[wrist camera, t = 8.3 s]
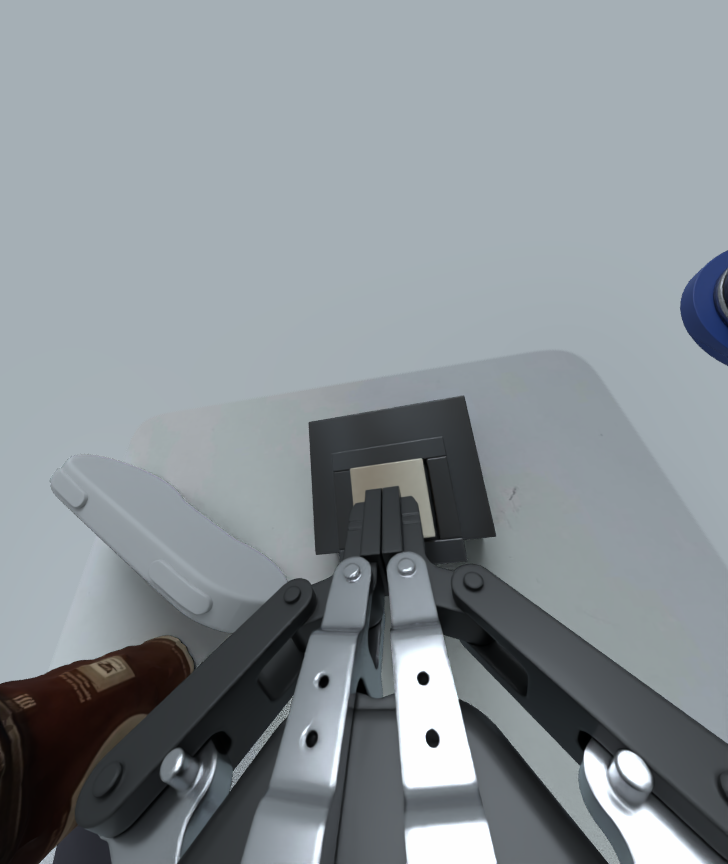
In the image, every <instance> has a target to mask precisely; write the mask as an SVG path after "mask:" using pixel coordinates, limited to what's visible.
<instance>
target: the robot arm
mask: <svg viewBox="0 0 728 864" xmlns="http://www.w3.org/2000/svg"><path fill="white" fill-rule="evenodd" d="M713 301H714V305H715V308H716V311H717V313H718V315H719V316H720V318H721V320H722V321H723V322H724V323H725V325H726V326H727V327H728V268H727V269H726V270H725V271H724V272H723V273H722V274H721V275H720V276H719V278H718V280H717V281H716V284H715V286H714V291H713ZM384 596H389V600H390V611H391V622H392V628H391V629H390V639H391V651H392V663H393V675H394V686H395V693H393V694H391V695H388V696H385V697H383V688H382V678H381V672H382V657H383V643H384V629H385V612H384ZM443 635H446V636H450V637H453V638H456V639H459V640H460V642H461V643H462V645H463V646H464V647H465V648H466V649H467V650H468V651H469V652H470V653H471V654H472V655H473V656H474V657H475V658H476V659H477V660H478V661H479V662H480V663H481V664H482V665H483V666H484V667H485V669H486V670H487V671H488V672H489V673H490V674H491V675H492V676H493V677H494V678H495V679H496V680H497V681H498V682H499V683H500V684H501V685H502V686H503V687H504V688H505V689H506V690H507V691H508V692H509V693H510V694H511V695H512V696H513V697H514V698H515V699H516V700H517V701H518V702H519V703H520V704H521V705H522V707H523V708H524V709H525V710H526V711H527V712H528V713H529V714H530V715H531V716H532V717H533V718H534V719H535V720H536V721H537V722H538V723H539V724H540V725H541V726H542V727H543V728H544V729H545V730H546V731H547V732H548V733H549V734H550V735H551V736H552V737H553V738H554V739H555V740H556V741H557V742H558V743H559V745H560V746H561V747H562V748H563V749H564V750H565V751H566V752H567V753H568V754H569V755H570V756H571V757H572V758H573V759H574V760H575V761H576V762H577V763H578V764H579V765H580V768H579V774H578V781H579V788H580V792H581V795H582V798H583V801H584V803H585V805H586V807H587V809H588V811H589V813H590V815H591V816H592V818H593V819H594V821H595V822H596V824H597V825H598V826H599V828H600V829H601V830H602V832H603V833H604V834H605V836H606V837H607V839H608V840H609V842H610V843H611V845H612V847H613V849H614V851H615V853H616V855H617V857H618V859H619V862H620V864H728V744H727V743H726V742H724V741H723V740H722V739H720V738H719V737H717V736H716V735H715V734H713V733H712V732H711V731H709V730H708V729H706V728H705V727H704V726H702V725H701V724H700V723H698V722H697V721H695V720H694V719H693V718H691V717H690V716H688V715H687V714H686V713H684V712H683V711H682V710H680V709H679V708H677V707H676V706H675V705H673V704H672V703H671V702H669V701H668V700H666V699H665V698H664V697H662V696H661V695H660V694H658V693H657V692H655V691H654V690H653V689H651V688H650V687H649V686H647V685H646V684H644V683H643V682H642V681H640V680H639V679H637V678H636V677H635V676H633V675H632V674H631V673H629V672H628V671H626V670H625V669H624V668H622V667H621V666H620V665H618V664H617V663H615V662H614V661H613V660H611V659H610V658H609V657H607V656H606V655H604V654H603V653H602V652H600V651H599V650H598V649H596V648H595V647H593V646H592V645H591V644H589V643H588V642H586V641H585V640H584V639H582V638H581V637H580V636H578V635H577V634H575V633H574V632H573V631H571V630H570V629H569V628H567V627H566V626H564V625H563V624H562V623H560V622H559V621H558V620H556V619H555V618H553V617H552V616H551V615H549V614H548V613H547V612H545V611H544V610H542V609H541V608H540V607H538V606H537V605H535V604H534V603H533V602H531V601H530V600H529V599H527V598H526V597H524V596H523V595H522V594H520V593H519V592H518V591H516V590H515V589H513V588H512V587H511V586H509V585H508V584H507V583H505V582H504V581H502V580H501V579H500V578H498V577H497V576H496V575H494V574H493V573H491V572H490V571H489V570H487V569H486V568H484V567H482V566H479V565H475V564H465V565H462V566H460V567H458V568H457V569H456V570H455V571H452V570H447V569H443V568H440V567H437V566H436V565H434V564H433V563H432V562H430V560H429V559H428V558H427V556H426V550H425V543H424V536H423V529H422V524H421V518H420V512H419V506H418V503H417V501H416V500H415V499H414V498H413V496H406V497H401V493H400V488H399V486H392V487H385V488H383V490H382V488H378V489H370V490H366V491H365V501H364V502H359V503H355V505H354V506H353V508H352V509H351V511H350V515H349V523H348V531H347V536H346V543H345V550H344V557H343V561H342V562H341V563H340V564H339V565H338V566H337V567H336V569H335V571H334V574H333V575H332V576H331V577H329V578H327V579H325V580H323V581H320V582H318V583H315V584H313V585H311V584H310V582H309V581H307V580H306V579H302V578H297V579H293V580H291V581H289V582H287V583H285V584H284V585H283V586H282V587H281V588H280V589H279V590H278V591H277V592H276V593H275V594H274V595H272V596H271V597H270V598H269V599H268V600H267V601H266V602H265V603H264V604H263V605H262V606H261V607H260V608H259V609H258V610H257V611H256V612H255V613H254V614H253V615H252V616H251V617H249V618H248V619H247V620H246V621H245V622H244V623H243V624H242V625H241V626H240V627H239V628H238V629H237V630H236V631H235V632H234V633H233V634H232V635H231V636H230V637H229V638H228V639H226V640H225V641H224V642H223V643H222V644H221V645H220V646H219V647H218V648H217V649H216V650H215V651H214V652H213V653H212V654H211V655H210V656H209V657H208V658H207V659H206V660H205V661H203V662H202V663H201V664H200V665H199V666H198V667H197V668H196V669H195V670H194V671H193V672H192V673H191V674H190V675H189V676H188V677H187V678H186V679H185V680H184V681H183V682H182V683H180V684H179V685H178V686H177V687H176V688H175V689H174V690H173V691H172V692H171V693H170V694H169V695H168V696H167V697H166V698H165V699H164V700H163V701H162V702H161V703H160V704H159V705H157V706H156V707H155V708H154V709H153V710H152V711H151V712H150V713H149V714H148V715H147V716H146V717H145V718H144V719H143V720H142V721H141V722H140V723H139V724H138V725H137V726H136V727H135V728H133V729H132V730H131V731H130V732H129V733H128V734H127V735H126V736H125V737H124V738H123V739H122V740H121V741H120V742H119V743H118V744H117V745H116V746H115V747H114V748H113V749H112V750H110V751H109V752H108V753H107V754H106V755H105V756H104V757H103V758H102V759H101V760H100V762H99V763H98V764H97V765H96V766H95V768H94V769H93V770H92V772H91V773H90V775H89V776H88V778H87V780H86V781H85V783H84V785H83V787H82V789H81V791H80V794H79V796H78V799H77V802H76V807H75V820H76V823H77V824H78V826H80V827H82V828H84V829H86V830H89V831H91V832H93V833H96V834H98V835H99V837H100V838H101V839H103V840H105V841H107V842H108V844H109V849H110V855H111V862H112V864H609V863H608V862H607V861H606V860H605V859H604V857H603V856H602V855H601V854H600V852H599V851H598V850H597V849H596V847H595V846H594V845H593V844H592V843H591V841H590V840H589V839H588V838H587V836H586V835H585V834H584V833H583V832H582V830H581V829H580V828H579V827H578V825H577V824H576V823H575V822H574V820H573V819H572V818H571V817H570V816H569V814H568V813H567V812H566V811H565V809H564V808H563V807H562V806H561V804H560V803H559V802H558V801H557V800H556V798H555V797H554V796H553V795H552V793H551V792H550V791H549V790H548V789H547V787H546V786H545V785H544V784H543V782H542V781H541V780H540V779H539V777H538V776H537V775H536V774H535V773H534V771H533V770H532V769H531V768H530V766H529V765H528V764H527V763H526V761H525V760H524V759H523V758H522V757H521V755H520V754H519V753H518V752H517V750H516V749H515V748H514V747H513V746H512V744H511V743H510V742H509V741H508V739H507V738H506V737H505V736H504V734H503V733H502V732H501V731H500V730H499V728H498V727H497V726H496V725H495V724H494V723H493V722H492V721H491V720H490V719H489V718H488V717H487V716H486V715H484V714H483V713H482V712H481V711H479V710H478V709H477V708H475V707H473V706H472V705H470V704H469V703H467V702H464V701H462V700H460V699H458V697H457V692H456V688H455V684H454V679H453V675H452V671H451V666H450V662H449V658H448V653H447V649H446V645H445V641H444V636H443ZM293 695H294V696H293ZM292 696H293V700H292V703H291V707H290V711H289V715H288V717H287V718H286V719H285V720H284V721H283V722H282V723H281V724H280V725H279V726H278V727H277V729H276V730H275V731H274V733H273V734H272V735H271V737H270V738H269V739H268V741H267V742H266V743H265V745H264V746H263V748H262V749H261V750H260V752H259V753H258V754H257V756H256V757H255V758H254V760H253V761H252V762H251V764H250V765H249V767H248V768H247V769H246V771H245V772H244V773H243V775H242V776H241V777H240V779H239V780H238V781H237V783H236V784H235V786H234V787H233V788H232V790H231V791H230V788H231V783H232V777H233V770H234V769H235V768H236V767H237V765H238V764H239V763H240V762H241V760H242V759H243V758H244V757H245V755H246V754H247V753H248V751H249V750H250V749H251V748H252V746H253V745H254V744H255V743H256V741H257V740H258V739H259V738H260V736H261V735H262V734H263V733H264V731H265V730H266V729H267V728H268V726H269V725H270V724H271V723H272V721H273V720H274V719H275V718H276V716H277V715H278V714H279V713H280V711H281V710H282V709H283V707H284V706H285V705H286V704H287V702H288V701H289V700H290V699H291V697H292Z"/></svg>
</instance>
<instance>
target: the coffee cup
mask: <svg viewBox="0 0 728 864" xmlns="http://www.w3.org/2000/svg"><path fill="white" fill-rule="evenodd" d="M193 671H194V664H193V660H192V658H191V656H190V655H189V653H188V651H187V648H186V646H185V645H184V644H182V643H181V642H180V640H179V639H178V638H175V637H173V636H170V635H164V636H160V637H157V638H154V639H151V640H148V641H146V642H144V643H143V644H141V645H137V646H128V647H125V648H123V649H121V650H118V651H114V652H110V653H108V654H106V655H104V656H102V657H99V658H96V659H94V660H79V661H76V662H73V663H71V664H69V665H64V666H61V667H58V668H56V669H53V670H51V671H49V672H47V673H46V674H44V675H40V676H38V677H35V678H30V679H25V680H17V681H9V682H5V683H1V684H0V864H39V863H40V862H41V861H42V860H43V859H44V858H45V857H46V856H47V855H48V853H49V852H50V851H51V850H52V849H53V848H54V847H55V846H57V845H58V844H59V843H60V842H61V841H62V840H63V839H64V838H65V837H66V836H67V835H68V834H69V833H70V832H71V831H72V830H73V829H74V828H76V827H77V826H78V824H77V823H76V820H75V807H76V802H77V799H78V796H79V794H80V791H81V789H82V787H83V785H84V783H85V781H86V780H87V778H88V776H89V775H90V773H91V772H92V770H93V769H94V768H95V766H96V765H97V764H98V763H99V762H100V760H101V759H102V758H103V757H104V756H105V755H106V754H107V753H108V752H109V751H110V750H112V749H113V748H114V747H115V746H116V745H117V744H118V743H119V742H120V741H121V740H122V739H123V738H124V737H125V736H126V735H127V734H128V733H129V732H130V731H131V730H132V729H133V728H135V727H136V726H137V725H138V724H139V723H140V722H141V721H142V720H143V719H144V718H145V717H146V716H147V715H148V714H149V713H150V712H151V711H152V710H153V709H154V708H155V707H156V706H157V705H159V704H160V703H161V702H162V701H163V700H164V699H165V698H166V697H167V696H168V695H169V694H170V693H171V692H172V691H173V690H174V689H175V688H176V687H177V686H178V685H179V684H180V683H182V682H183V681H184V680H185V679H186V678H187V677H188V676H189V675H190V674H191V673H192V672H193Z"/></svg>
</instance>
